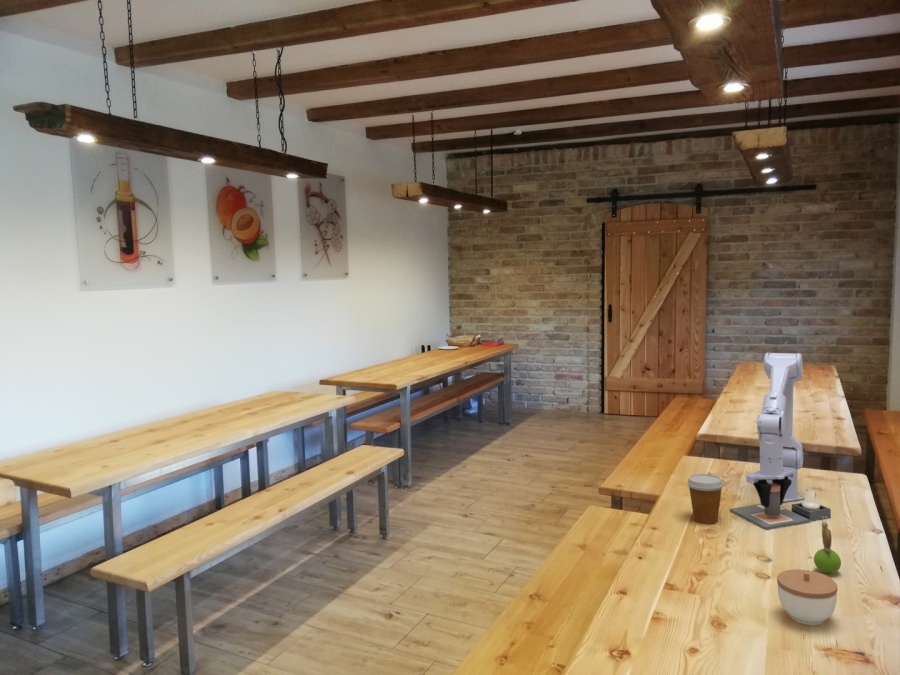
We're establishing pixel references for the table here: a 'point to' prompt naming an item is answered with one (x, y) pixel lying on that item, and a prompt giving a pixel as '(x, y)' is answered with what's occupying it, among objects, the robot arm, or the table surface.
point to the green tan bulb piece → (827, 553)
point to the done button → (810, 505)
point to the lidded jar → (807, 595)
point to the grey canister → (773, 500)
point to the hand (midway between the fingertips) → (771, 505)
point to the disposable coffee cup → (705, 497)
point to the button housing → (811, 512)
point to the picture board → (769, 517)
